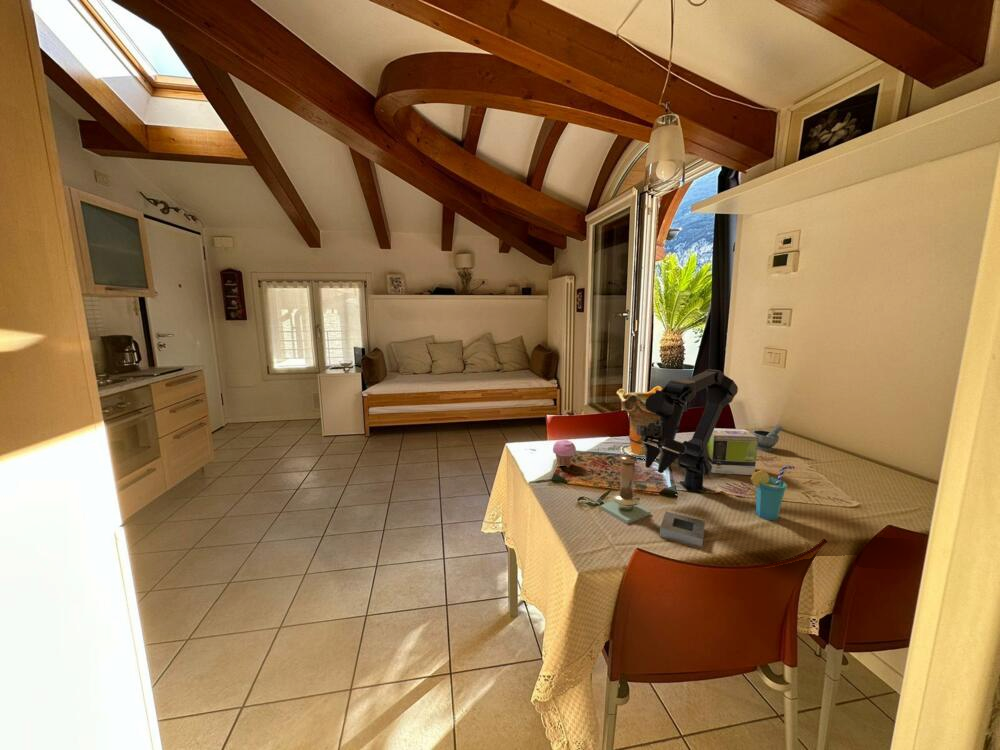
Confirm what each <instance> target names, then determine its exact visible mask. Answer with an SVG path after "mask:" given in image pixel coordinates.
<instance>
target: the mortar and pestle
mask: <svg viewBox="0 0 1000 750" xmlns="http://www.w3.org/2000/svg"><path fill="white" fill-rule="evenodd" d="M783 430H784V428H783V426H781V425H780V424H775V426H774V428H772V430H762V429H756V430H755V429H754V430H752V431H751V433H752V434H754V435H755V436H757V437H758V444H757V451H762V452H772V451H773V447H775V445H777V443H778V441H779V439H780V435H779V433H780V432H781V431H783Z"/></svg>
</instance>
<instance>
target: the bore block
mask: <svg viewBox="0 0 1000 750" xmlns="http://www.w3.org/2000/svg"><path fill="white" fill-rule="evenodd" d="M705 527H706V520H703V519H699V518H694V517H691V516H687V515H682V514H678V513H673V512H670V511H665V512H664V515H663V518H662V521H661V525H660V527H659V534H658V535H659V537H658V538H661V539H664V540H665V539H666V540H668V541H673V542H677V543H680V544H684V545H687V546H692V547H695V548H699V549H703V542H704V536H705Z"/></svg>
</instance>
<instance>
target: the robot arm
mask: <svg viewBox="0 0 1000 750" xmlns="http://www.w3.org/2000/svg"><path fill="white" fill-rule="evenodd" d="M704 389H706V395H707V403H706V406H705V407H704V411H703V413H702V415H701V417H700V420H699V422H698V424H697V426H696V429H695V431H694V432H693V433H694V434H693V435H692V437H691V439H689V440H688V441H687V440H684V441H683V442H680V441H679V440H675V439H676V435H677V432H678V431H679V432H681V429H682V427H680V422H681V420H682V416H683V414H684V412H687V411H688V407H687V405H686V404H685V403H688V402H691V400H692V399H694V398H695V397H696V394H697V392H699V391H701V390H704ZM738 391H739V387H738V385H737V384H736V382H735V381H734V380H733V379H731V378H730V377H728V376H727V375H725V374H724V372H723V371H721V370H719V369H718V370H717V369H710V368H708V369H704V371H702V372H700V373H698V374H695V375H693V376H691V377H689V378H684V379H672V380H670V381H668V382H667V384H666V385H664V387H663V388H662V390H661V391H659V390H656V392H655V394H652V395H650V396H649V397H648V398H647V399H646V403H645V406H646V408H647V410H648V411H650V412H652V413H654V414H656V415H658V416H660V418H659V421H657V420H656V421H655V423H647V424H646V425H636V426H637V435H640V436H641V439H640V440H641V441H643V442H644V443H643V442H642V444H643V445H644V447H645V450H646V458H645V465H644V466H645V467H646V468H648V469H649V468H650V467H651V466H652V464H653V463H654V462H655V461H656V460H655V459H656V457H657V456H658V455H659V453H660V452H661V457H660V460H659V462H658V467H657V468H658V469H657V473H660V474H663V473H664V472H665V471H666V470H667V469H668V467H670V466H671V465H672V463H674V462H675V461H676V460H677V463H678V467H679V468H681V469H684V477H683V480H681V481H679V484H681V485H680V486H682V487H683V488H684V489H685V490H686V492H708V489H707V488H706V487H705V486H704V476H705V475H706V476H709V475H710V473H711V469H712V466H711V464H710V462H709V461H708V456H709V453H708V449H707V444H708V442H709V440H710V437H711V435H712V433H713V430H714V428H716V425H717V423H718V421H719V419H720V415H721V414H722V411H723V409H724V408H725V407H726V406H728V405H729V404H730V403H732V402H733V400H734V399H735V396H736V395H737V394H738Z"/></svg>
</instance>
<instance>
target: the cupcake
mask: <svg viewBox="0 0 1000 750" xmlns="http://www.w3.org/2000/svg"><path fill="white" fill-rule="evenodd" d="M552 452H553V453H554V454H555V457H556V463H557V466H558V465H562V466H570V467H571V464H572V461H573V459H574V456H575V455H576V452H577V449H576V446H575V444H574V442H572V441H570V440H568V439H561V440H557V441H556V442H555V443H554V444H553V448H552Z"/></svg>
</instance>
